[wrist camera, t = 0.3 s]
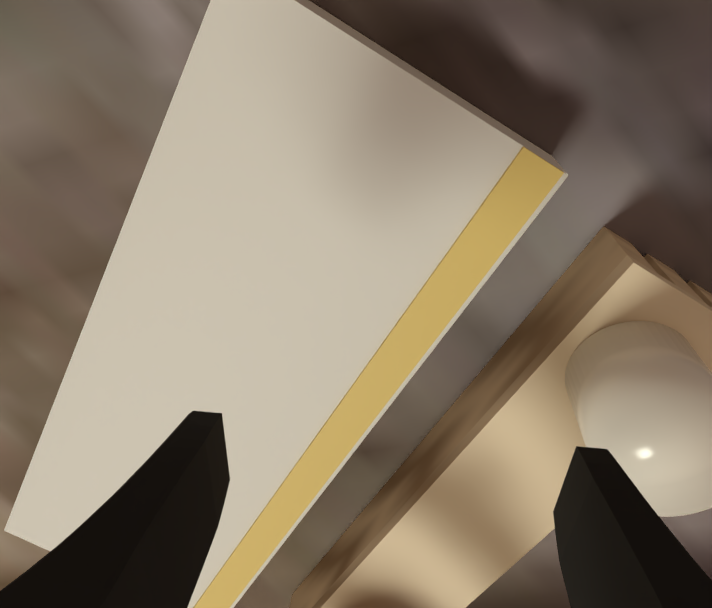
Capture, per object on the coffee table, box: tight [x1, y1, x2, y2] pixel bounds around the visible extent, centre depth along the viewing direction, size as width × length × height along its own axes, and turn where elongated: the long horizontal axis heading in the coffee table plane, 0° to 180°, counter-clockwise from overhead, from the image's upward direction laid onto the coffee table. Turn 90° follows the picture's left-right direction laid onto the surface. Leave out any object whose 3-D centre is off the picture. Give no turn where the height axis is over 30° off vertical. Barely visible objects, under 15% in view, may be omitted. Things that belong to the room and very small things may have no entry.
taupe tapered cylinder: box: [565, 321, 712, 517], centre depth 17 cm, size 4×4×4 cm
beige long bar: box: [289, 226, 712, 608], centre depth 24 cm, size 24×5×4 cm, turn 150°
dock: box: [4, 0, 568, 608], centre depth 23 cm, size 26×11×3 cm, turn 150°
